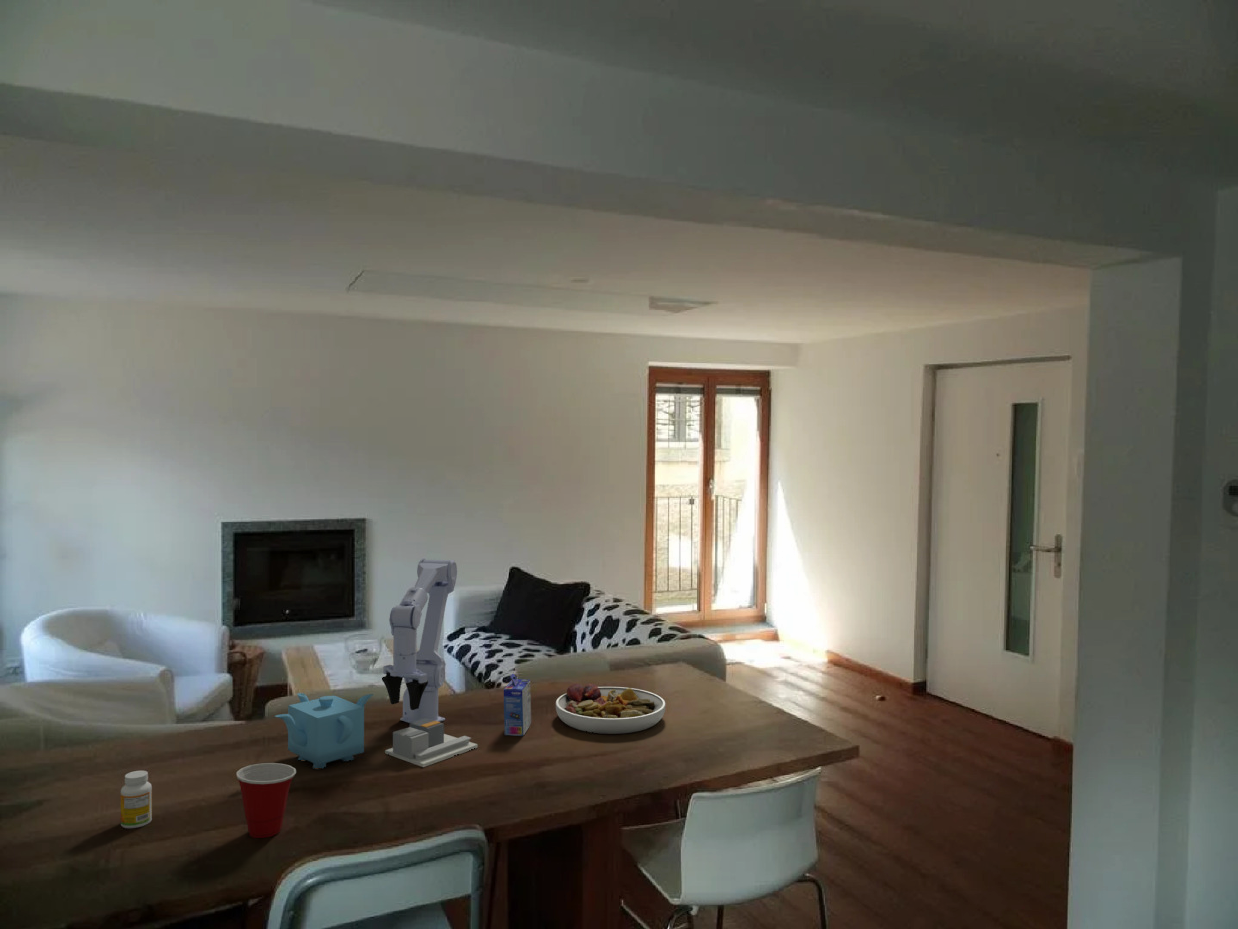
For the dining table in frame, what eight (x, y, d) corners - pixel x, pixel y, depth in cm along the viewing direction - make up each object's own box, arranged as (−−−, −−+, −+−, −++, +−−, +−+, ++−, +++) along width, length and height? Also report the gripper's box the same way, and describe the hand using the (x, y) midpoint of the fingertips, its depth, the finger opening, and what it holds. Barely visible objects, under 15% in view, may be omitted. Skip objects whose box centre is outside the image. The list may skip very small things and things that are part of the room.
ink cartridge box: (511, 723, 237) (511, 669, 237) (531, 724, 237) (531, 670, 236) (502, 735, 228) (503, 679, 227) (523, 736, 227) (524, 680, 227)
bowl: (684, 715, 247) (685, 687, 247) (628, 746, 222) (628, 715, 222) (595, 697, 263) (595, 671, 263) (533, 724, 238) (533, 695, 238)
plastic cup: (303, 835, 169) (303, 773, 169) (243, 849, 163) (243, 785, 163) (287, 815, 178) (287, 756, 178) (230, 828, 172) (230, 767, 172)
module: (409, 743, 219) (409, 722, 219) (425, 737, 223) (425, 717, 223) (428, 749, 215) (428, 728, 214) (443, 743, 219) (443, 723, 218)
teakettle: (354, 773, 201) (355, 709, 201) (270, 773, 200) (271, 709, 200) (374, 745, 220) (374, 686, 219) (297, 744, 219) (298, 685, 219)
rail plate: (385, 753, 213) (385, 729, 213) (439, 735, 227) (440, 712, 227) (423, 767, 205) (423, 741, 205) (477, 747, 218) (477, 723, 218)
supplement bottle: (128, 817, 176) (128, 769, 176) (156, 817, 177) (156, 768, 176) (115, 829, 171) (115, 779, 171) (144, 828, 171) (144, 779, 171)
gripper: (373, 651, 224) (373, 704, 225) (411, 660, 216) (411, 715, 216) (395, 646, 230) (395, 698, 231) (433, 655, 221) (433, 708, 222)
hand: (404, 706), depth 224 cm, fingers open, 7 cm apart
